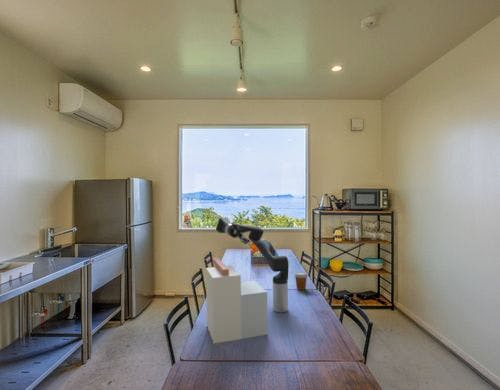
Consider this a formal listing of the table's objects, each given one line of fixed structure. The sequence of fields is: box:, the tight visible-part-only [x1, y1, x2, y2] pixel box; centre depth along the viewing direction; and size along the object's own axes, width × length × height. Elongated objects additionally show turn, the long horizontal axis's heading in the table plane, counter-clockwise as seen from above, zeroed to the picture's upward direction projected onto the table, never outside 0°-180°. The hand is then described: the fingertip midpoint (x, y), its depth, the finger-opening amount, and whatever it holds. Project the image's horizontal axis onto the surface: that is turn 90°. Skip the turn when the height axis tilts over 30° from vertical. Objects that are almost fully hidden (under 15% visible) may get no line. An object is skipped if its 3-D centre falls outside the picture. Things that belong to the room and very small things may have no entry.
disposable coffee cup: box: [294, 271, 308, 291], centre depth 219 cm, size 10×10×12 cm
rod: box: [212, 257, 229, 276], centre depth 158 cm, size 28×3×3 cm, turn 18°
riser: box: [205, 265, 269, 345], centre depth 155 cm, size 20×28×32 cm
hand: (244, 236), depth 171 cm, fingers open, 8 cm apart
